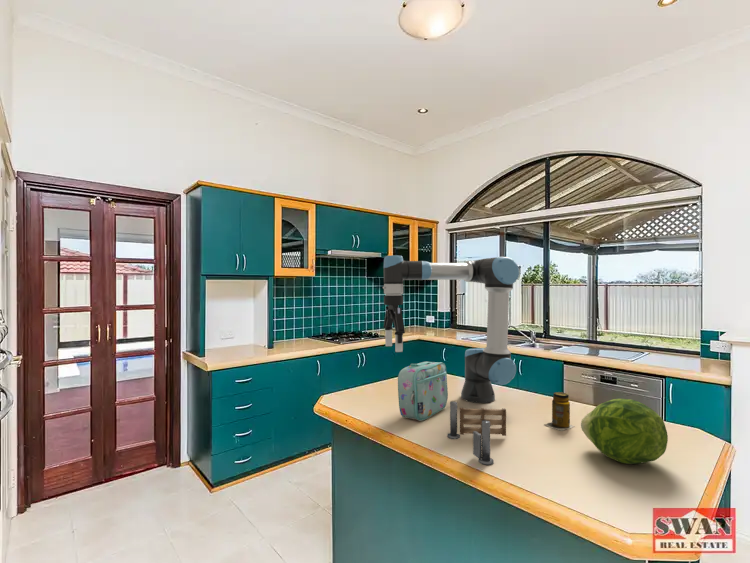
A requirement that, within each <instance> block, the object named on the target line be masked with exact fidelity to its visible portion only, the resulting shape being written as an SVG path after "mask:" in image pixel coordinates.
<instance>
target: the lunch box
mask: <svg viewBox="0 0 750 563" xmlns="http://www.w3.org/2000/svg"><path fill="white" fill-rule="evenodd" d="M446 366H447V365H446V364H445V363H444V362H441V361H440V362H438V361H437V362H435V361H422V362H419V363H410V365H408V366H405V367H404V368H402V369H401V370H400V371H399V373H398V375H397V396H398V409H399V413H400V416H401V417H402V418H406V419H413V420H416V421H419V422H420V421H425V420H427V419H429V418H431V417H433V416H434V415H435V414H437V413H439V412H440V411H442V410H444V409H445V408H446V405H447V403H448V398H449V391H448V388H449V387H448V377H447V376H448V374H447V373H448V372H447V367H446Z"/></svg>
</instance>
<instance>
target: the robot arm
mask: <svg viewBox="0 0 750 563" xmlns="http://www.w3.org/2000/svg"><path fill="white" fill-rule="evenodd" d="M519 276H520V269H519V265H518V264H517V262H516V261H515V260H514V259H512V258H511V257H508V256H497V257H490V258H489V257H488V258H481V259H476V260H465V261H463V262H429V261H426V260H404V258H403V256H402V255H397V254H395V255H386V256H384V258H383V286H382V289H383V294H384V296H383V304H384V306H385V315H384V322H383V328H384V332H385V334H384V335H385V336H384V338H385V339H384V340H385V342H384V343H385V347H392V346H393V330H395V332H394V335H395V337H394V339H395V340H394V344H395V345H394V346H395V350H394V351H395V353H403V350H404V342H403V341H404V340H403V339H404V338H403V337H404V336H403V335H404V334H405V333H406V332H405V331H406V330H405V324H404V318H403V316H404V315H403V307H399V306H402V305H403V304H404V296H403V294H404V281H413V280H414V281H415V280H417V281H423V280H425V281H426V280H427V281H428V280H429V281H430V280H431V281H433V280H434V281H435V280H436V281H438V280H441V281H442V280H443V281H444V280H445V281H447V280H449V281H450V280H451V281H452V280H455V281H456V280H459V281H461V280H463V281H464V282H465V283H469V282H470V283H478V284H484V289H485V290H486V291H487V292H488V293H487V294H488V295H487V296H488V297H487V298H488V299H487V322H486V327H487V328H486V346H485V348H483V347H481V348H479V347H478V348H477V347H476V348H468V349H466V350H465V352H464V383H463V386H462V389H461V392H460V397H461V399H462V400H464V401H466V400H467V401H466V402H471V403H479V404H480V403H481V404H486V403H493V402H494V401H495V400H496V394H495V390H494V389H493V385H492V384H494V385H495V384H496V385H499V386H500V385H502V386H503V385H507V384H509V383H510V382H511V381H512V380H513V379H514V378H515V376H516V373H517V365H516V363H515V361H514V360H513V359H512V358H511V357H512V356H511V355H512V352H511V350H509V348H508V339H509V336H508V335H509V332H508V331H509V307H510V303H509V300H510V292H511V291H513V289H514V283H516V282H517V280H518V279H519ZM393 327H394V329H393Z"/></svg>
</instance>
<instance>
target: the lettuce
mask: <svg viewBox="0 0 750 563" xmlns="http://www.w3.org/2000/svg"><path fill="white" fill-rule="evenodd" d="M580 428H581V431H582V432H583V434H584V435H585V437H586V438H587V439H588V440H589V441H590V442H592V443H591V444H593V445H594V446H595V448H596V449H597V450H598V451H599V452H601V454H603V455H604V456H606V457H607V458H610V459H612V460H614V461H617V462H618V463H621V464H625V465H639V464H646V463H651V462H655V461H656V460H659V458H661V457H662V456H663V455H664V454H665V452H666V450H667V447H668V440H669V437H668V431H667V428H666V424H665V422H664V420H663V418H662V417H661V416H660V414H658V413H657V412H656V411H655V410H653V409H652V407H649V406H648V405H646V404H644V403H642V402H640V401H638V400H635V399H628V398H613V399H610V400H606V401H605V402H602V403H600V404H598V405H596V406H595V407H594V409H592V410H591V411H589V413H588V412H587V414H586V415H584V417H583V418H582V419H581V422H580Z"/></svg>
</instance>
